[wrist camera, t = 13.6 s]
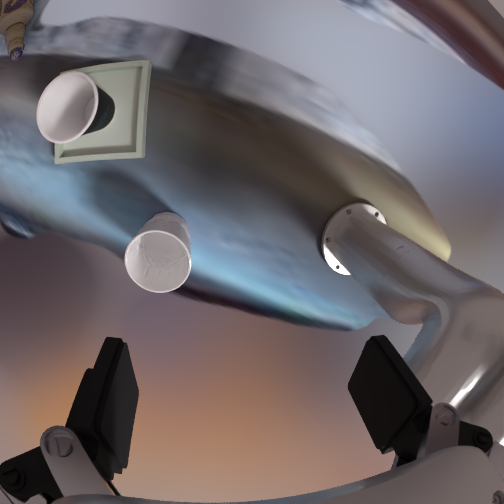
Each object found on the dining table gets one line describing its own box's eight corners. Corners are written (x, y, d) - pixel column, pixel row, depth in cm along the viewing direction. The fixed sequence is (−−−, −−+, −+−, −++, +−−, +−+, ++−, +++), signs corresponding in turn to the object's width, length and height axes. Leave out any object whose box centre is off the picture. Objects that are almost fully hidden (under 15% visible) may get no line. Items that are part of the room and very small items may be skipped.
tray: (152, 63, 30) (149, 59, 28) (145, 156, 35) (141, 157, 33) (66, 74, 27) (60, 72, 25) (61, 162, 33) (54, 164, 31)
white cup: (181, 265, 42) (176, 301, 33) (134, 246, 40) (116, 277, 31) (202, 220, 40) (202, 247, 31) (152, 198, 38) (137, 219, 29)
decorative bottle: (11, -20, 13) (-4, -29, 7) (43, -41, 14) (29, -53, 8) (8, 75, 24) (-15, 72, 18) (42, 52, 24) (20, 43, 18)
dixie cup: (76, 91, 28) (37, 81, 18) (126, 81, 30) (99, 63, 20) (76, 143, 32) (36, 149, 22) (126, 135, 33) (97, 137, 23)
